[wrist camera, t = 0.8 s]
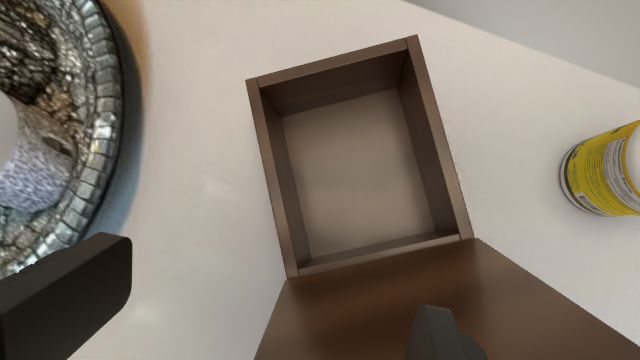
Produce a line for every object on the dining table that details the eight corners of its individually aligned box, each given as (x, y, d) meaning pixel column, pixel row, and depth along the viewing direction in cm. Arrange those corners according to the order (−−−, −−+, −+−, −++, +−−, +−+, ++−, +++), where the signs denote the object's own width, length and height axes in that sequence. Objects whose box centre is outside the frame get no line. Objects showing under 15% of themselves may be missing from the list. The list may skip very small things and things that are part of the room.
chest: (271, 113, 32) (244, 79, 24) (402, 79, 31) (417, 33, 24) (305, 268, 30) (288, 285, 23) (445, 237, 30) (476, 243, 22)
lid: (184, 528, 8) (194, 562, 8) (763, 428, 7) (769, 467, 7) (285, 280, 22) (288, 292, 22) (477, 237, 21) (480, 250, 21)
